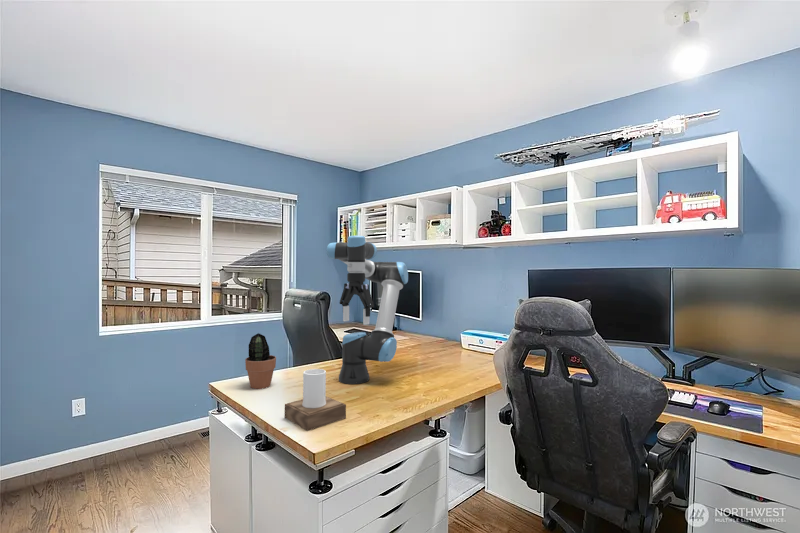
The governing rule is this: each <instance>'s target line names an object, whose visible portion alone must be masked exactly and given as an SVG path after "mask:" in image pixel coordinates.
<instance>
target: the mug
mask: <svg viewBox="0 0 800 533" xmlns="http://www.w3.org/2000/svg"><path fill="white" fill-rule="evenodd" d="M302 377H303V380H302V382H303V383H302V387H303V388H302V391H303V392H302V399H303V403H302V406H303V407H305V408H320V407H323V406H325V405H326V396H327V395H326V393H327V391H326V388H327V387H326V385H327V383H326V382H327V381H326V380H327V379H326V378H327V371H326V370H325V369H323V368H321V369H320V368H310V369H306V370H304V371H303V374H302Z"/></svg>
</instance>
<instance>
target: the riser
mask: <svg viewBox="0 0 800 533" xmlns="http://www.w3.org/2000/svg"><path fill="white" fill-rule="evenodd" d="M302 403H303V398H302V399H298V400H294V401H292V402H287V403H284V419H287V420H288V421H290V422H291V423H294V424H295V425H297V426H299V427H301V428H303V429H304V430H306V431H311V430H314V429H317V428H320V427H324V426H326V425H330V424H333V423H334V422H338V421H342V420H345V419H346V418H347V404H346V403H343V402H341V401H338V400H336V399H334V398H332V397H328V396H327V395H326V405H325V406H323V407H320V408H305V407H303V406H302Z"/></svg>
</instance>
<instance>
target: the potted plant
mask: <svg viewBox="0 0 800 533" xmlns="http://www.w3.org/2000/svg"><path fill="white" fill-rule="evenodd" d="M244 360H245V362H244V363H245V371H247V372H246V373H247V375H248V382H249V386H250V388H251V389H253V388H254V389H255V390H260V389H261V390H262V388H263V389H267V388H269V387H270V386H271V385H272V379H273V375H274V370H275V369H276V365H277V364H276V363H277V356H276V355H271V352H270V346H269V344H268V342H267V338H266V336H265V335H263V334H261V333H259V332H258V333H257V334H254V335H252V336H251V337H250V340H249V343H248V357H246V358H245V359H244ZM266 387H267V388H266Z"/></svg>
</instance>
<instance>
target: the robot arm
mask: <svg viewBox="0 0 800 533" xmlns="http://www.w3.org/2000/svg"><path fill="white" fill-rule="evenodd" d="M377 253H378V249H377V246H376V245H375V244H374V243H373V242H371V241H366V237H365V236H364V235H350V236H347V242H336V241H335V242H330V243H328V245H327V246H326V255H327V257H328V259H331V260H339V261H341V263H344V264H345V265H347V272H348V273H346V274H347V275H346V278H347V280H346V281H347V283H344V284H343V290H342V294H341V296H340V300H339V302H338V303H339V305H341V306H342V322H350V302H351V301H352V299H353V297H354V295H356V296H358V297H359V299H360V301H361V303H362V305H363V309H362V310H363V311H362V312H363V315H362V316H363V317H362V318H363V320H362V321H363V323H362V325H363V326H367V325H370V323H371V322H370V318H371V309H372V308H374V307H375V305H374V301H373V297H372V295H371V291H370V284H364V282H366V280H368V281H371V282H372V283H377V284H381V286H382V287H383V288H382V292H381V298H380V302H379V303H380V304H379V306H378V307H379V308H378V313H377V318H376V322H375V323H376V324H375V328H374V329H373V330H371V332H370V335H369V336H368V335H367V333H366V332H365V331H361V332H359V331H358V332H352V333H348V334H347V333H346V334H345V335H344V336H343V337H342V344H341V345H342V346H341V347H342V351H341V352H342V358H341V359H342V361H341V362H342V363H341V364H342V365H341V368H340V371H339V374H338V381H339V383H342V384H346V385H347V384H348V385H359V384H364V383H365V384H366V383H367V382H368V381H369V380H370V373H369V370H368V367H367V363H366V362H367V361H372V362H373V361H375V362H380V363H381V362H382V363H383V362H387V363H388V362H391V361H392V359H393V358H394V357H395V355H396V352H397V344H398V343H397V342H398V341H397V338H396V337H395V334H394V333H393V327H394V324H395V316H396V311H397V306H398V300H399V296H400V290H402V289H403V288H404V285H406V284H407V283H408V282H409V270H408V267H407V265H406V263H404V262H403V261H372V260H371V259H375V257H376V256H377Z"/></svg>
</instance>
